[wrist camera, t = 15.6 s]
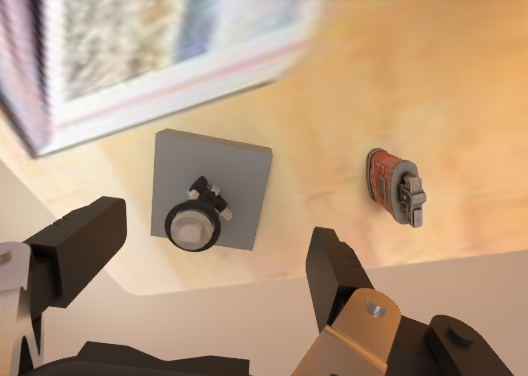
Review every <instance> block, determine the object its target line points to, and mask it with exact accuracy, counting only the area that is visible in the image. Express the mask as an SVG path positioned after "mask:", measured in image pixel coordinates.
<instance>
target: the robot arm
mask: <svg viewBox="0 0 528 376" xmlns="http://www.w3.org/2000/svg"><path fill="white" fill-rule="evenodd" d="M126 236H127V219H126V203H125V200H124V199H121V198H114V197H107V196H102V197H100V198H99V199H97V200H96V201H94V202H93V203H91V204H90V205H88V206H85V207H82V208H79V209H76V210H73V211H71V212H70V213H68V214H66V215H65V216H63V217H62V219H59V220H57V221H55V222H54V223H53V225H52V224H51V225H49V226H47V227H46V228H44V229H43V230H41V231H39V232H38V233H36V234H35V235H33V236H31V237H30V238H28V239H27V240H25V241H23V242H22V243H21V242H4V243H0V376H252V375H249V361H250V360H246V359H237V358H228V357H220V356H211V355H210V356H203V357H195V358H188V359H180V360H173V361H164V360H160V359H158V358H156V357H153V356H151V355H149V354H146V353H144V352H141V351H139V350H137V349H134V348H132V347H129V346H125V345H116V344H108V343H99V342H90V341H87V342H86V343H85V345H84V346H83V348H82V349H81V350H80V352H79V353H78V355H77V356H72V357H68V358H63V359H59V360H56V361H53V362H50V363H47V364H44V365H43V356H44V355H43V354H44V316H43V311H45V310H46V308H48V307H49V306H51V307H59V308H66V307H67V306H68V305H69V304H70V303H71V302H72V301H73V300H74V299H75V298H76V296H77V295H78V294H79V293H80V292H81V291H82V290H83V289H84V288H85V287H86V286H87V284H88V283H89V282H90V281H91V280H92V279H93V278H94V277H95V276H96V275H97V274H98V272H99V271H100V270H101V269H102V268H103V267H104V266H105V265H106V264H107V263H108V262H109V260H110V259H111V258H112V257H113V256H114V255H115V254H116V253H117V252H118V251H119V250H120V248H121V247H122V246H123V244H124V242H125V240H126ZM306 274H307V278H308V283H309V288H310V292H311V297H312V302H313V306H314V311H315V315H316V320H317V324H318V328H319V334H320V335H319V336H318V337H317V339H316V340H315V342H314V343H313V345H312V346H311V348H310V349H309V350H308V352H307V353H306V355H305V356H304V358H303V359H302V361H301V362H300V364H299V365H298V366H297V368H296V369H295V371H294V372H293V374H292V375H291V376H514V375H513V374H512V373H511V372H510V370H509V369H508V368H507V367H506V365H505V364H504V363H503V362H502V360H501V359H500V358H499V357H498V355H497V354H496V353H495V352H494V351H493V350H492V348H491V347H490V346H489V345H488V343H487V342H486V341H485V340H484V339H483V337H482V336H481V335H480V334H479V333H478V332H476V331H475V330H474V329H473V328H471V327H470V326H468V325H467V324H465V323H464V322H462V321H460V320H458V319H455V318H453V317H450V316H446V315H436V316H434V317H433V318H432V320H431V322H430V324H429V325H426V324H424V323H421V322H418V321H416V320H413V319H410V318H407V317H405V316H402V315H401V312H400V309H399V308H398V306H397V305H396V304H395V302H394V301H393V300H391V299H390V298H389V297H388V296H386V295H385V294H383V293H381V292H379V291H376V290H375V289H374V287H373V286H372V284H371V282H370V280H369V278H368V276H367V274H366V272H365V271H364V269H363V267H362V265H361V263H360V261H359V260H358V258H357V256H356V254H355V252H354V250H353V249H352V248H350V247H349V246H348V245H347V244H346V243H345V242H340V241H339V239H338V237H337V235H336V233H335V231H334V229H329V228H322V227H315V228H314V231H313V234H312V238H311V242H310V246H309V250H308V254H307V258H306Z"/></svg>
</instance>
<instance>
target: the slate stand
mask: <svg viewBox="0 0 528 376" xmlns="http://www.w3.org/2000/svg"><path fill="white" fill-rule="evenodd" d="M271 159H272V151H271V148H267V147H262V146H257V145H252V144H246V143H241V142H236V141H230V140H225V139H220V138H214V137H209V136H204V135H198V134H193V133H188V132H182V131H177V130H172V129H165V130H162V131H160V132H157V133H156V140H155V160H154V179H153V199H152V218H151V236H157V237H164V238H168V237H167V235H166V232H165V227H164V224H165V219H166V216H167V214H168V213H169V212H170V210H171V209H172V208H173V207H175V206H176V205H178V204H180V203H183V202H185V201H187V200H188V199H189V198H190V197H189V196H188V195H187V194H186V191H187V190H188V189H189V187H190V186H191V185H192V184H193V183H194V182H195V181H196V180H197V179H198V178H200V177H201V176H204V177H205V178H206V179H207V184H208V185H209V186H210V187H211V188H212V187H213V185H215V186H217V187H218V188H219V190H220V192H219V195H220V196H221V197H222V198H223V199H224V200H225V201H226V202H227V207H228V208H227V209H228V210H229V211H230V212H232V213H233V215H231V216H232V218H231V219H230V220H229V221H227V220H226V219H225V218H224V217H223V216H220V215H219V219H220V223H221V232H220V236H219V238H218V240H217V242H216V243H215V244H214V245H217V246H224V247H230V248H237V249H244V250H250V251H252V250H253V245H254V240H255V235H256V230H257V226H258V221H259V216H260V211H261V207H262V202H263V197H264V192H265V187H266V183H267V178H268V173H269V168H270V164H271ZM216 189H217V188H216ZM180 212H181V211H179V212H178V213H177V214H176V216H177V215H178V214H180ZM228 213H229V212H228ZM229 214H230V213H229ZM176 216H175V217H176ZM226 217H227V216H226ZM227 218H228V217H227ZM214 230H215V228H214V225H213V232H214Z"/></svg>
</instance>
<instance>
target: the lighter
mask: <svg viewBox="0 0 528 376" xmlns="http://www.w3.org/2000/svg"><path fill="white" fill-rule="evenodd" d="M366 180H367V186H368V190H369V193H370V196H371V198H372V199H373V200H374V201H375V202H378V203H379V204H380V205H382V206H383V207H384V208H385V209H386V210H387V211H388V212H389V213H390V214H392V215H393V218H394V219H395V220H396V221H397V222H398V223H400V224H410V225H411V226H412V227H413V228H418V227H421V226H422V223H423V222H422V203H424V202H426V194H425V192H424V191H423V189H422V179H421V178H420V177H419V176H418V171H417V167H416V165H415V164H414V163H413V162H410V161H408V160H402V159H400V158H398V157H395V156H393V155H391V154H389V153H388V152H387V151H386V150H384V149H381V148H375V149H373V150H371V151H370V152H369V153H368V156H367V163H366Z"/></svg>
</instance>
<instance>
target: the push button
mask: <svg viewBox="0 0 528 376" xmlns="http://www.w3.org/2000/svg"><path fill="white" fill-rule="evenodd" d="M216 188H217V189H216ZM219 192H220V190H219V188H218V187H217V186H215V185H213V187H212V188H211V187H210V186H209V185H208V184H207V179H206V178H205V177H204V176H201V177H200V178H198V179H197V180H196V181H195V182H194V183H193V184H192V185H191V186H190V187H189V189H188V190H187V191H186V194H187V195H188V196H189V197H190V198H189V199H188V200H187V201H185V202H183V203H180V204H178V205H176V206H175V207H173V208H172V209H171V210H170V212H169V213H168V214H167V216H166V219H165V224H164V227H165V232H166V235H167V237H168V238H169V240H170V241H171V242H172V243H173V244H174V245H175V246H177V247H178V248H180V249H183V250H185V251H190V252H200V251H204V250H207V249H209V248H210V247H212V246H213V245H214V244H215V243H216V242H217V240H218V238H219V236H220V232H221V223H220V219H219V215H220V216H223V217H224V218H225V219H226V220H227V221H229V220H230V219H231V218H232V216H231V215H233V213H232V212H230V211H229V210H228V209H227V208H228V207H227V202H226V201H225V200H224V199H223V198H222V197H221V196H220V195H219ZM179 211H181V212H180V214H178V215H177V216H176V214H177V213H178V212H179ZM228 212H229V213H230V214H229V213H228ZM175 216H176V217H175ZM226 216H227V217H228V218H227V217H226ZM213 225H214V228H215V230H214V232H213Z"/></svg>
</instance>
